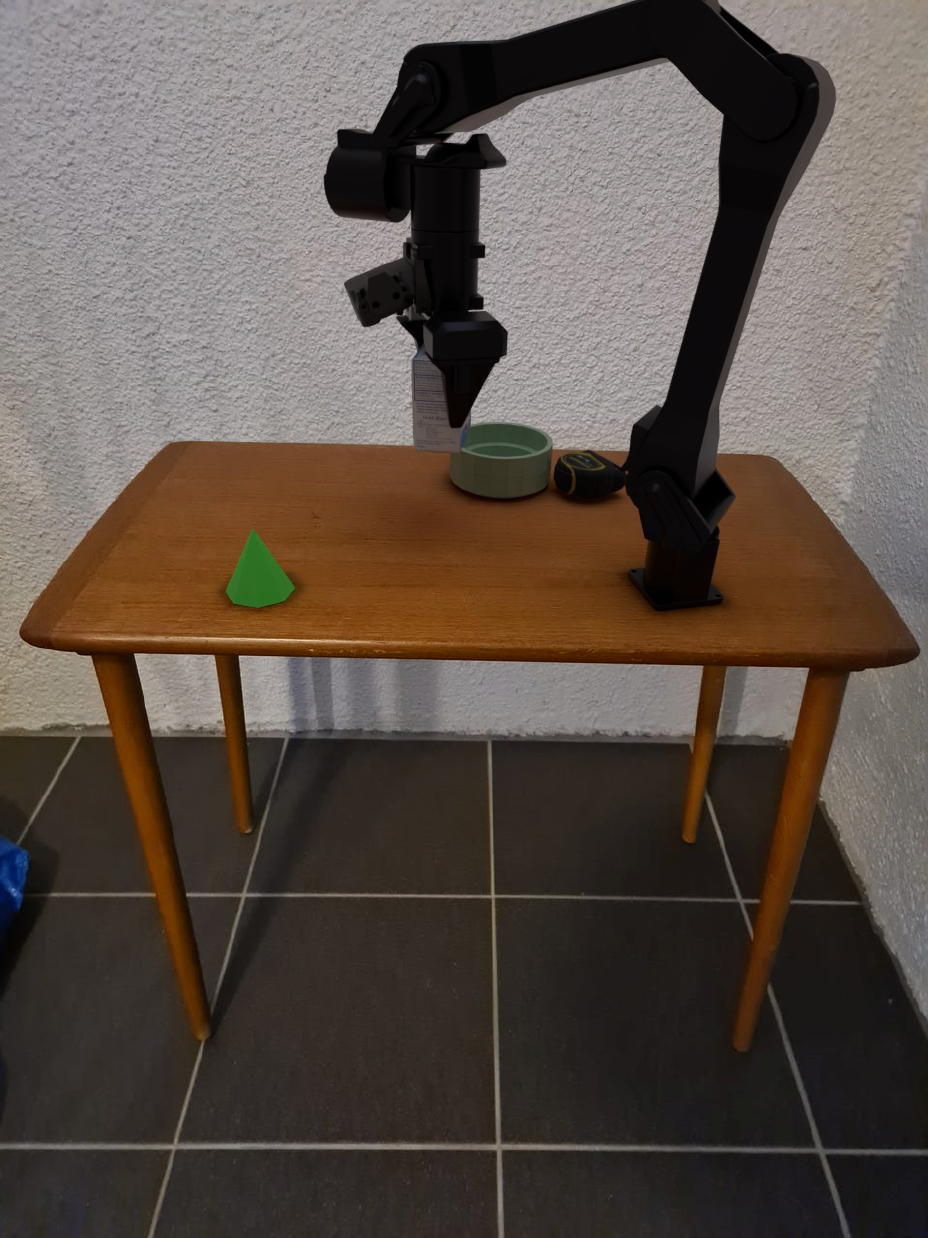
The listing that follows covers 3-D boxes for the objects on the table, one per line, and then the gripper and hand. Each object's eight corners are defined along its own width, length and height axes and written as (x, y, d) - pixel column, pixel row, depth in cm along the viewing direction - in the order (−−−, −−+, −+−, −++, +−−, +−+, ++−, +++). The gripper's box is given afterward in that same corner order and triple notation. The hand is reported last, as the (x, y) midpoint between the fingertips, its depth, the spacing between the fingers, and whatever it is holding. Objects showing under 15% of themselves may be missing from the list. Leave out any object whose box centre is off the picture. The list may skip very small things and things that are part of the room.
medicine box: (460, 455, 75) (462, 359, 70) (411, 452, 76) (410, 356, 71) (471, 426, 82) (473, 336, 77) (426, 423, 82) (426, 333, 77)
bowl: (562, 498, 90) (567, 454, 87) (462, 506, 88) (464, 461, 85) (531, 459, 99) (534, 419, 96) (440, 466, 97) (440, 424, 94)
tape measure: (627, 498, 90) (631, 466, 88) (575, 509, 88) (579, 476, 86) (590, 475, 95) (594, 444, 93) (540, 485, 93) (543, 454, 91)
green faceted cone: (228, 574, 74) (219, 513, 71) (296, 571, 75) (290, 511, 72) (221, 609, 69) (211, 546, 66) (294, 606, 70) (287, 543, 67)
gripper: (334, 214, 75) (344, 386, 83) (366, 248, 59) (375, 454, 68) (453, 213, 77) (451, 380, 86) (514, 245, 62) (504, 444, 70)
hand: (443, 410), depth 77 cm, fingers closed on medicine box, 9 cm apart
